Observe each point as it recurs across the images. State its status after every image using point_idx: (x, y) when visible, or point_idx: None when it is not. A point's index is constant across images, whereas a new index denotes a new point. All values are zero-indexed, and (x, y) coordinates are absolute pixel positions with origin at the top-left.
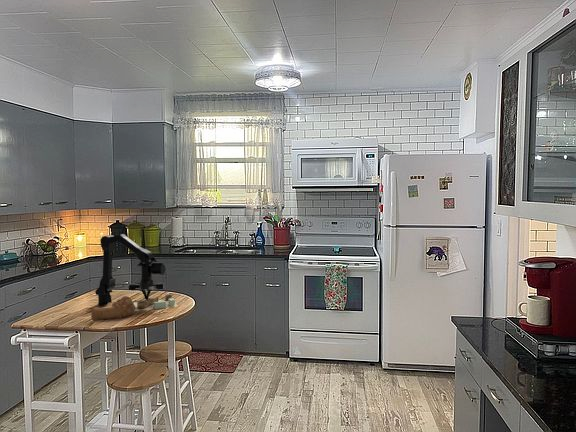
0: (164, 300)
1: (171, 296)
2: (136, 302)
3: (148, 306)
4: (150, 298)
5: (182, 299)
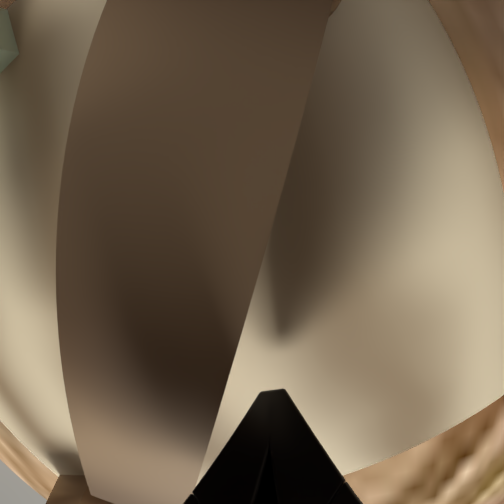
0: None
1: (48, 499)
2: (451, 419)
3: None
4: (149, 425)
5: (49, 487)
